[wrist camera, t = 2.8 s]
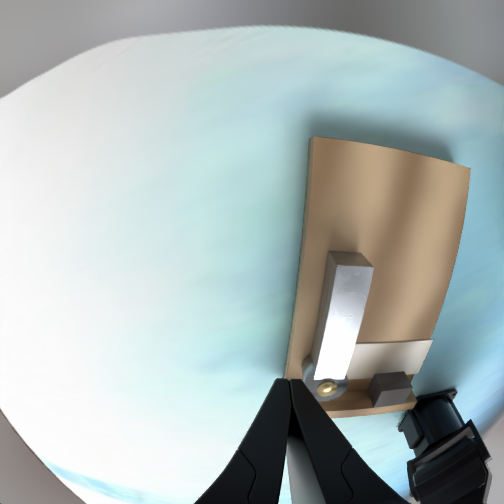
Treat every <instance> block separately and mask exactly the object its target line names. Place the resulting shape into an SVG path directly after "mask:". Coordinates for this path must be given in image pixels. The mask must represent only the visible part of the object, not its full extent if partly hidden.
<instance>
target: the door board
mask: <svg viewBox="0 0 504 504" xmlns="http://www.w3.org/2000/svg"><path fill="white" fill-rule="evenodd" d="M469 179H470V168H468V167H465V166H462V165H458V164H455V163H451V162H448V161H444V160H441V159H437V158H433V157H429V156H425V155H421V154H416V153H412V152H408V151H403V150H398V149H393V148H388V147H383V146H378V145H372V144H366V143H360V142H354V141H347V140H340V139H332V138H324V137H315V136H314V137H312V138H310V139H309V154H308V170H307V184H306V197H305V209H304V221H303V231H302V242H301V251H300V261H299V270H298V279H297V287H296V295H295V303H294V311H293V318H292V325H291V333H290V340H289V346H288V353H287V360H286V366H285V372H284V378H287V379H288V380H289V379H302V380H303V376H302V368H301V366H302V362H303V360H304V359H305V358H306V357H307V356H308V355H309V354H310V353H311V349H312V344H313V339H314V334H315V328H316V323H317V318H318V312H319V306H320V301H321V295H322V288H323V282H324V276H325V269H326V262H327V255H328V250H330V251H345V252H360V253H362V254H363V255H364V256H365V258H366V259H367V260H368V261H369V262H370V263H371V264H372V265H373V267H374V270H373V275H372V280H371V284H370V289H369V293H368V297H367V302H366V306H365V310H364V314H363V318H362V321H361V325H360V329H359V332H358V336H357V340H356V343H355V346H354V350H353V353H352V356H351V360H350V363H349V366H348V369H347V372H346V374H347V377H348V381H349V385H348V388H347V389H346V391H345V392H344V393H343V394H342V395H341V396H339V397H337V398H335V399H333V400H329V401H322V402H321V401H318V402H319V403H320V405H321V406H322V407H323V409H324V410H325V411H326V413H327V414H328V415H329V417H330V418H343V417H355V416H366V415H375V414H383V413H390V412H396V411H403V410H408V409H413V408H414V406H415V405H416V403H417V400H416V398H415V396H414V394H413V392H412V390H411V389H412V388H413V387H412V385H411V383H410V382H411V380H412V378H413V376H414V374H417V373H419V371H420V368H421V366H422V364H423V362H424V360H425V358H426V355H427V353H428V351H429V348H430V346H431V344H432V341H433V339H430V338H431V335H432V333H433V330H434V328H435V325H436V322H437V320H438V317H439V314H440V311H441V308H442V305H443V302H444V299H445V296H446V293H447V289H448V286H449V283H450V279H451V276H452V272H453V268H454V264H455V260H456V256H457V252H458V248H459V243H460V238H461V233H462V228H463V223H464V217H465V211H466V204H467V197H468V189H469Z"/></svg>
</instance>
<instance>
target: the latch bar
mask: <svg viewBox="0 0 504 504" xmlns="http://www.w3.org/2000/svg"><path fill="white" fill-rule="evenodd" d="M373 270H374V267H373V265H372V264H371V263H370V262H369V261H368V260H367V259H366V258H365V256H364V255H363V254H362V253H360V252H345V251H330V250H328V255H327V262H326V269H325V276H324V282H323V288H322V295H321V301H320V306H319V312H318V318H317V323H316V328H315V334H314V339H313V344H312V349H311V353H310V354H309V355H308V356H307V357H306V358H305V359H304V360H303V362H302V366H301V368H302V376H303V382H304V383H305V384H306V386H307V387H308V389H309V390H310V391H311V393H312V394H313V395H314V397H315V398H316V399H317V401H321V402H322V401H329V400H333V399H335V398H337V397H339V396H341V395H342V394H343V393H344V392H345V391H346V389H347V388H348V385H349V381H348V377H347V374H346V372H347V369H348V366H349V363H350V360H351V356H352V353H353V350H354V346H355V343H356V340H357V336H358V332H359V329H360V325H361V321H362V318H363V314H364V310H365V306H366V302H367V297H368V293H369V289H370V284H371V280H372V275H373Z"/></svg>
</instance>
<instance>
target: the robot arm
mask: <svg viewBox="0 0 504 504" xmlns="http://www.w3.org/2000/svg"><path fill="white" fill-rule="evenodd" d="M456 394H457V390H456V389H454V390H450V391H445V392H441V393H436V394H431V395H426V396H420V397H418V398H417V399H416V400H417V403H416V405H415V406H414V408H413V409H410V410H409V412H408V413H407V415H406V417H405V418H404V420H403V421H402V423H401V425H400V426H399V428H398V431H399V432H404V434H405V437H406V440H407V442H408V445H409V448H410V449H413V450H414V453H415V456H416V458H414V459H412V460H409V461H408V462H407V473H408V479H409V486H410V496H411V497H414V498H415V500H416V501H417V502H418V503H419V504H487V503H486V501H487V497H488V493H489V489H490V485H491V480H492V474H491V472H490V469H489V467H488V465H487V462H489V461H490V460H492V458H491V456H490V454H489V452H488V450H487V447H486V446H485V443H484V441H483V440H482V438H481V436H480V434H479V432H478V430H477V428H476V427H475V425H474V423H473V422H472V420H471V419H470V420H469V421H468V422H467V423H466V424H465V423H464V421H463V419H462V417H461V416H460V414H459V412H458V410H457V408H456V407H455V405H454V403H453V399H454V398H455V396H456ZM473 436H475V437H474V438H472V437H473ZM286 455H287V464H288V473H289V482H290V491H291V500H292V504H411V503H409V502H408V501H406V500H405V499H404V498H402V497H401V496H400V495H399V494H398V493H397V492H395V491H394V490H393V489H392V488H391V487H390V486H389V485H388V484H387V483H385V482H384V481H383V480H382V479H381V478H380V477H379V476H378V475H377V474H376V473H375V472H374V471H373V470H372V469H371V468H370V467H369V466H368V465H367V464H366V463H365V461H364V460H363V459H362V458H361V457H360V456H359V454H358V453H357V452H356V450H355V449H354V448H352V445H351V444H350V443H349V442H348V440H347V439H346V438H345V436H344V435H343V434H342V432H341V431H340V430H339V429H338V427H337V426H336V425H335V423H334V422H333V421H332V419H331V418H330V417H329V415H328V414H327V413H326V411H325V410H324V409H323V407H322V406H321V405H320V403H319V402H318V401H317V399H316V398H315V397H314V395H313V394H312V393H311V391H310V390H309V389H308V387H307V386H306V384H305V383H304V382H303V380H302V379H289V380H288V379H287V378H276V379H275V381H274V383H273V385H272V387H271V389H270V391H269V393H268V395H267V397H266V398H265V400H264V402H263V404H262V406H261V408H260V410H259V412H258V413H257V415H256V417H255V419H254V421H253V423H252V424H251V426H250V428H249V430H248V431H247V433H246V435H245V437H244V438H243V440H242V442H241V444H240V445H239V447H238V450H236V452H235V454H234V455H233V457H232V459H231V460H230V462H229V463H228V465H227V466H226V468H225V469H224V470H223V472H222V473H221V474H220V475H219V477H218V478H217V479H216V480H215V481H214V483H213V484H212V485H211V486H210V487H209V488H208V489H207V490H206V491H205V492H204V493H203V494H202V496H201V497H200V498H199V499H198V500H197V501H196V502H195V503H194V504H278V502H279V496H280V490H281V483H282V477H283V470H284V463H285V456H286ZM0 504H1V503H0Z"/></svg>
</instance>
